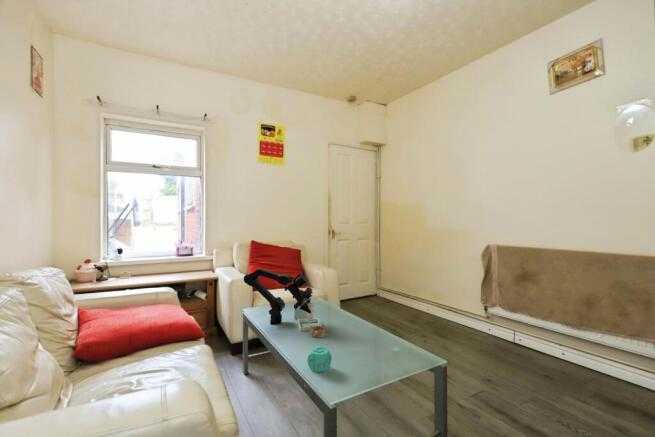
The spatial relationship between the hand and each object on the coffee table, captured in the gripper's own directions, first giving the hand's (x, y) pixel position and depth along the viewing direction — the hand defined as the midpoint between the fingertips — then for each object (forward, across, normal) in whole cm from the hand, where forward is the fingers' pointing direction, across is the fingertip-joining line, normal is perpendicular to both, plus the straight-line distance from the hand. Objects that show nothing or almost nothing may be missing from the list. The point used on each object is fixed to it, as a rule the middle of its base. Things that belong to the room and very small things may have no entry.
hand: (311, 311), depth 176 cm
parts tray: (+6, 0, +8) cm, 10 cm away
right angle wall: (0, +17, +15) cm, 23 cm away
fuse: (+3, 0, +5) cm, 6 cm away
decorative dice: (+20, -43, -6) cm, 48 cm away
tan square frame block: (+12, -10, +2) cm, 15 cm away
